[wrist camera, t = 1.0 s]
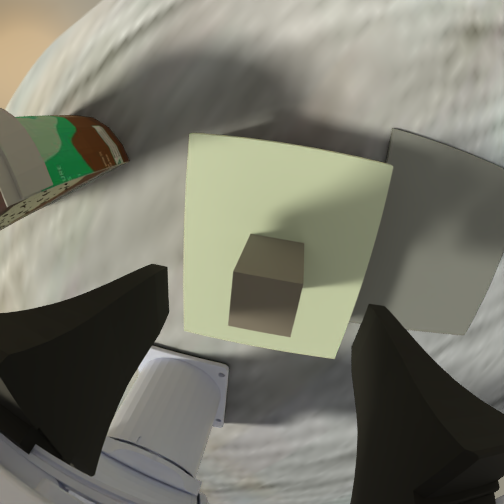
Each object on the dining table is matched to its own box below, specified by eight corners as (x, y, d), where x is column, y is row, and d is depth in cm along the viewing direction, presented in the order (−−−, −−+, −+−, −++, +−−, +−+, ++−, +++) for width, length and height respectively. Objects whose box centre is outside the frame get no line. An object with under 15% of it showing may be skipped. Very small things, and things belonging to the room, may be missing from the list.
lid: (333, 351, 16) (336, 408, 13) (187, 324, 17) (161, 373, 13) (389, 164, 12) (423, 184, 8) (194, 132, 12) (150, 140, 9)
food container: (120, 63, 14) (-17, 51, 5) (149, 152, 16) (14, 201, 7) (13, 145, 17) (-85, 180, 8) (34, 212, 20) (-58, 267, 11)
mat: (462, 332, 18) (464, 335, 17) (342, 318, 19) (343, 321, 18) (522, 177, 12) (525, 178, 12) (392, 128, 13) (393, 128, 13)
